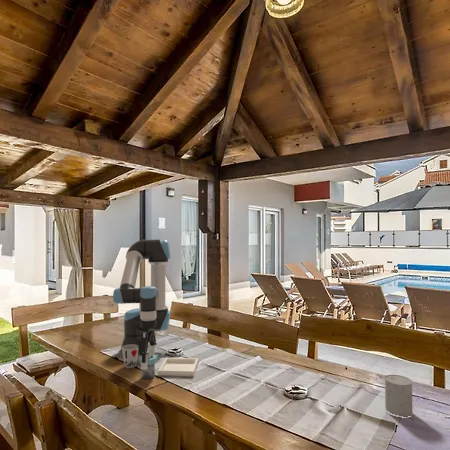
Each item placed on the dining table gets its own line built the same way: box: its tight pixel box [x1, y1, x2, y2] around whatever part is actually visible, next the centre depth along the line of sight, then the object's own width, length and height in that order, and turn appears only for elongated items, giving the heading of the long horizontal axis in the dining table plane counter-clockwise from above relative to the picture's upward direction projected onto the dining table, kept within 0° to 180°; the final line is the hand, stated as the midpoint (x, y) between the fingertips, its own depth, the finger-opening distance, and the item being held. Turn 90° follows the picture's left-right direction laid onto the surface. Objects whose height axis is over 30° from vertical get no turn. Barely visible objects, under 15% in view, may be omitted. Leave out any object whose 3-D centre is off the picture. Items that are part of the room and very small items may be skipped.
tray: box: [157, 357, 199, 378], centre depth 178 cm, size 17×17×2 cm
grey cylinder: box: [384, 374, 414, 417], centre depth 136 cm, size 10×10×12 cm
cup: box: [121, 344, 139, 369], centre depth 183 cm, size 8×8×10 cm
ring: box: [139, 353, 160, 365], centre depth 170 cm, size 9×8×2 cm
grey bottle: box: [141, 352, 156, 381], centre depth 169 cm, size 6×6×11 cm
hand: (148, 364), depth 169 cm, fingers open, 13 cm apart
